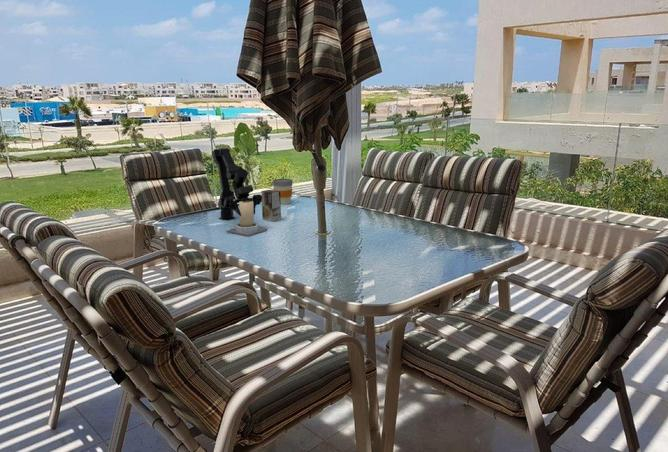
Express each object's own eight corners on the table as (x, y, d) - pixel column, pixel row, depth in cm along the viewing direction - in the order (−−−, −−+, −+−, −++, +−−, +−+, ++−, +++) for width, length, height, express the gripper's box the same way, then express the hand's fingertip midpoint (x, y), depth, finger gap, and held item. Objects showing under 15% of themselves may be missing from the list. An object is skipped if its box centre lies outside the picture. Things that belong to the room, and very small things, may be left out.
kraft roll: (241, 225, 255) (241, 200, 252) (255, 225, 254) (254, 200, 251) (238, 228, 248) (237, 202, 245) (252, 229, 247) (251, 203, 244)
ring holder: (246, 226, 261) (246, 220, 260) (267, 230, 254) (266, 224, 253) (227, 232, 250) (226, 225, 249) (247, 236, 242) (247, 229, 241)
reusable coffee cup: (285, 206, 312) (284, 182, 308) (269, 204, 318) (268, 180, 314) (296, 202, 322) (296, 179, 319) (281, 200, 329) (280, 178, 325)
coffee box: (281, 220, 276) (280, 191, 273) (272, 222, 272) (271, 192, 268) (270, 217, 282) (270, 189, 279) (261, 219, 278) (261, 190, 274)
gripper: (224, 181, 244) (232, 207, 238) (260, 178, 253) (268, 204, 246) (220, 194, 253) (227, 220, 246) (255, 191, 262) (263, 216, 255)
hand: (247, 214), depth 248 cm, fingers closed on kraft roll, 7 cm apart
